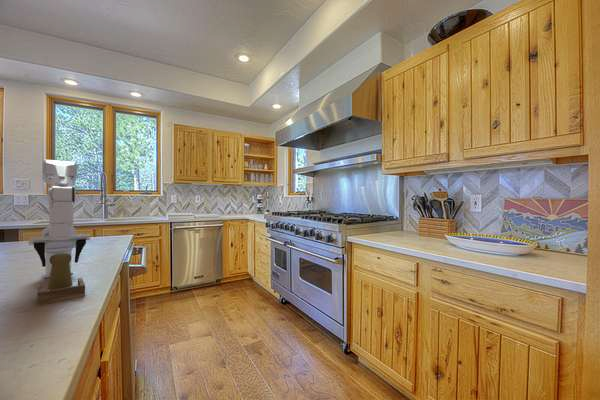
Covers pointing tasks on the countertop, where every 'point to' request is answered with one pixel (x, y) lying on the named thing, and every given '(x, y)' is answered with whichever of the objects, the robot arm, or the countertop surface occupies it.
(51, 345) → the countertop surface
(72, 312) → the countertop surface
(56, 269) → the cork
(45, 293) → the spice rack
